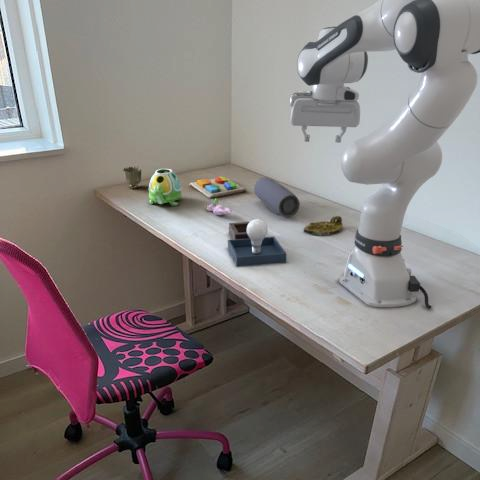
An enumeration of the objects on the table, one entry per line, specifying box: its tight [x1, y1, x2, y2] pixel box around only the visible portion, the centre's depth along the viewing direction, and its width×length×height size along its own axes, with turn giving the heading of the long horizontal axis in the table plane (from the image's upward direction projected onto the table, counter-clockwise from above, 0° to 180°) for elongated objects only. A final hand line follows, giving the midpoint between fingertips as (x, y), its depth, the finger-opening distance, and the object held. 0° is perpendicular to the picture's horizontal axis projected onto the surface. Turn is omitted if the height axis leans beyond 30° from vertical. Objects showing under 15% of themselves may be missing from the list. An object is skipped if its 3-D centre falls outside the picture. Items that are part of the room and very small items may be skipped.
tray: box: [227, 236, 287, 267], centre depth 155 cm, size 13×15×3 cm
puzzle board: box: [188, 176, 247, 199], centre depth 209 cm, size 18×19×4 cm
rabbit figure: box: [205, 197, 232, 216], centre depth 184 cm, size 6×6×15 cm
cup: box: [122, 166, 142, 190], centre depth 208 cm, size 8×7×8 cm
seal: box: [303, 215, 344, 236], centre depth 173 cm, size 9×5×15 cm
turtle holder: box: [148, 168, 182, 207], centre depth 191 cm, size 12×18×12 cm
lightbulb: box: [247, 218, 269, 254], centre depth 153 cm, size 6×6×11 cm
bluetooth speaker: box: [253, 176, 301, 218], centre depth 188 cm, size 23×9×10 cm, turn 22°
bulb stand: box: [228, 221, 250, 240], centre depth 166 cm, size 10×10×4 cm
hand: (322, 141), depth 152 cm, fingers open, 8 cm apart
